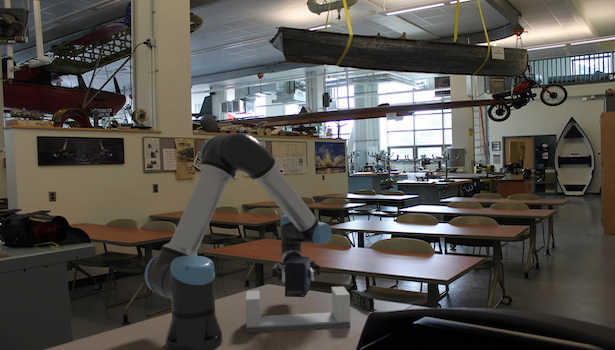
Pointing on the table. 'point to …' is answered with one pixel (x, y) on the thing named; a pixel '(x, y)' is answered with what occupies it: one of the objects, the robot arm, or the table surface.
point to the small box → (297, 276)
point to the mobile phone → (362, 300)
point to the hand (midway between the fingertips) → (298, 277)
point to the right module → (340, 304)
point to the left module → (253, 308)
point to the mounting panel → (297, 322)
